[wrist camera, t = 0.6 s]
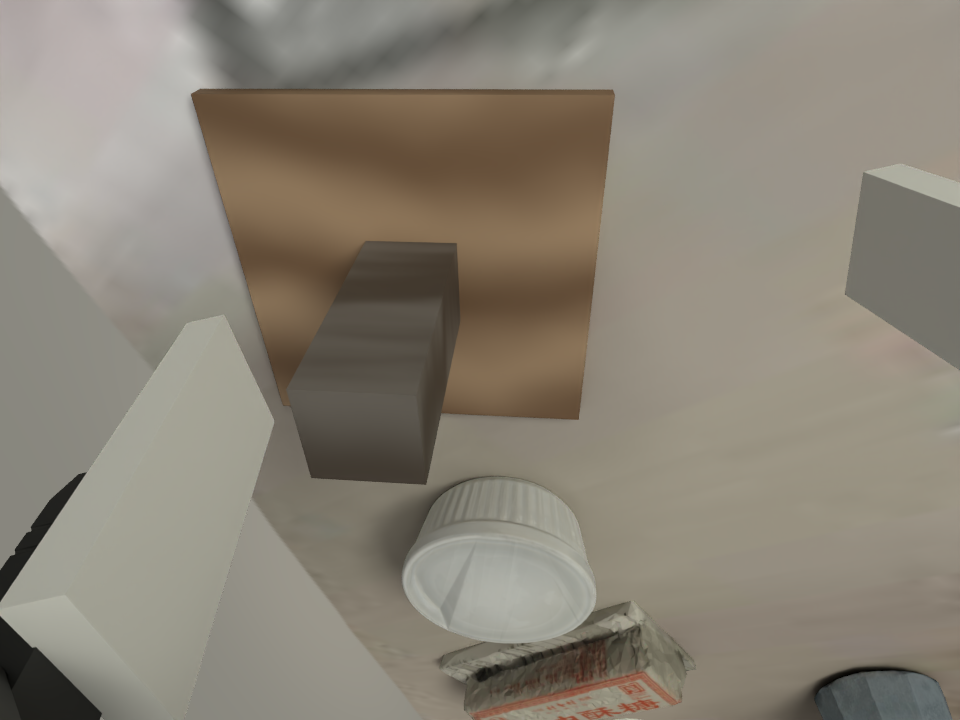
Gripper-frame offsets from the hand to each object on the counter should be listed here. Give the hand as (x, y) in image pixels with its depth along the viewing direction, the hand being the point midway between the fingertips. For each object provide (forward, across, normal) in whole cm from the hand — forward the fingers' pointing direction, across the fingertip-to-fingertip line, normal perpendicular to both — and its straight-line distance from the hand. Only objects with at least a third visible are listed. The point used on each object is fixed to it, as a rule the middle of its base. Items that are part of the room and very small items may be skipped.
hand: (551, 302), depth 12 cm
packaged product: (+18, 0, -41) cm, 44 cm away
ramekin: (+16, -3, -23) cm, 29 cm away
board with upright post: (+15, -4, -5) cm, 16 cm away
